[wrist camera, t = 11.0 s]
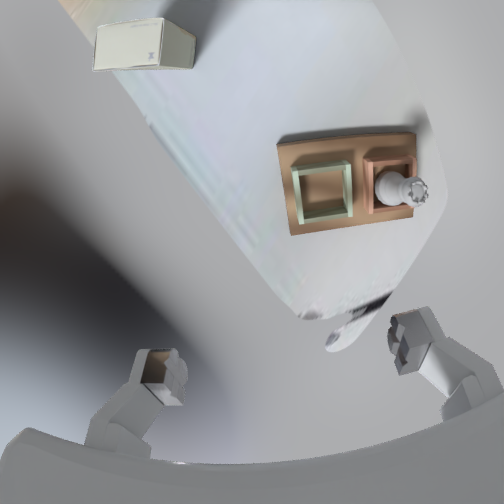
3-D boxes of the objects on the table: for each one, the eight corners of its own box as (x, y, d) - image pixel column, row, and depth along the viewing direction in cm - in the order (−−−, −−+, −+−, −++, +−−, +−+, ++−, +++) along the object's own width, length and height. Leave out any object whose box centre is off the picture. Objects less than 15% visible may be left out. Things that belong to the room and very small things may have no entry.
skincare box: (197, 36, 25) (168, 14, 15) (192, 71, 27) (162, 66, 17) (145, 38, 24) (95, 24, 14) (141, 71, 27) (90, 72, 17)
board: (276, 144, 32) (279, 151, 29) (410, 132, 30) (424, 138, 28) (289, 230, 39) (292, 243, 36) (408, 212, 37) (419, 223, 34)
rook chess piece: (368, 176, 33) (395, 177, 25) (397, 166, 32) (429, 166, 24) (379, 209, 34) (407, 219, 26) (407, 199, 33) (439, 206, 25)
